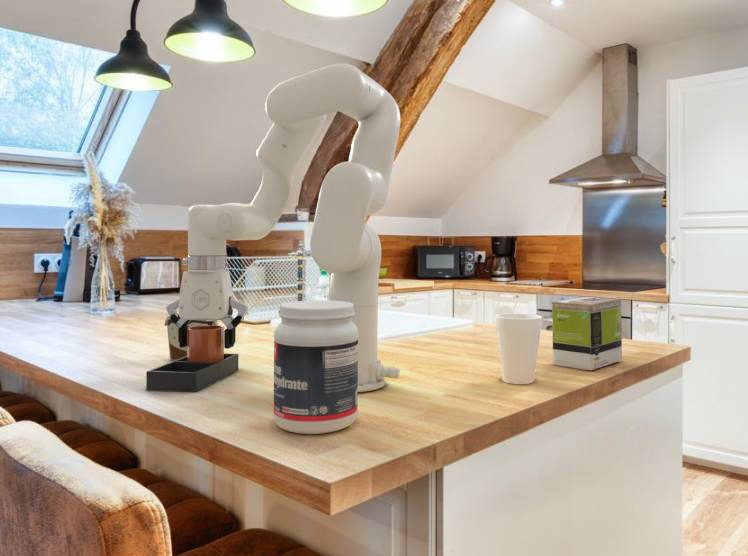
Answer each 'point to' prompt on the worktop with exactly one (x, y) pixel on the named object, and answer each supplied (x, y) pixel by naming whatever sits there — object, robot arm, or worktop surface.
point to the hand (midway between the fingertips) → (206, 347)
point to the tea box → (587, 332)
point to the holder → (190, 374)
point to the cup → (205, 343)
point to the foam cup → (518, 346)
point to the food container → (173, 336)
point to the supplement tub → (315, 367)
